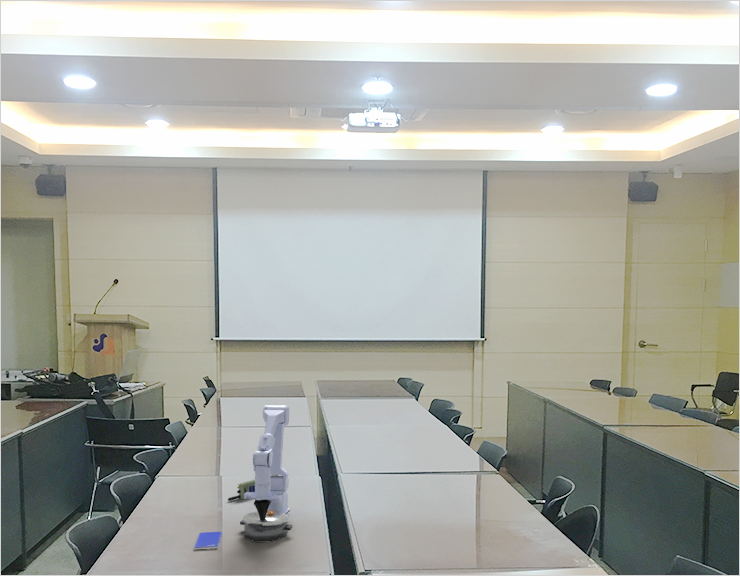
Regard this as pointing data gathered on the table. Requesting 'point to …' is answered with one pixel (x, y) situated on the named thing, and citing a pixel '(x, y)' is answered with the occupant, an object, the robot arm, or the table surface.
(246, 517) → the lid
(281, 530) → the cooker pot
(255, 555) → the table surface
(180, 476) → the table surface
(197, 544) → the hard drive
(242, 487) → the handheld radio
